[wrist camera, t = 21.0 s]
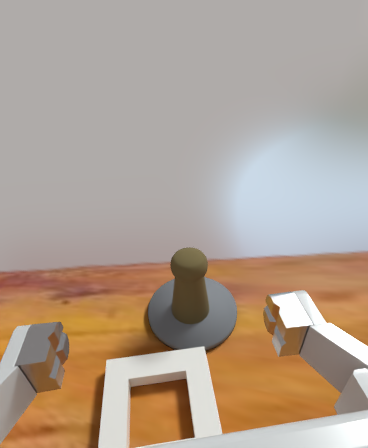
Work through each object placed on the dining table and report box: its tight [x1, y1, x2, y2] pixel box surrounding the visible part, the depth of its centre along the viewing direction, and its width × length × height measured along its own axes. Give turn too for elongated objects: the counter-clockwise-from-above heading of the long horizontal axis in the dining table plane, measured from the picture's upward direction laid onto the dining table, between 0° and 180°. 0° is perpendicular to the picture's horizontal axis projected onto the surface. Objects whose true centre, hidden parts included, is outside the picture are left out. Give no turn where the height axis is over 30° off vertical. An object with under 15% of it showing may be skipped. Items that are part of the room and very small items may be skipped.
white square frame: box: [98, 346, 222, 448], centre depth 33 cm, size 13×13×2 cm
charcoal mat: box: [148, 277, 237, 351], centre depth 45 cm, size 14×14×1 cm
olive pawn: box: [170, 248, 209, 324], centre depth 42 cm, size 6×6×11 cm
